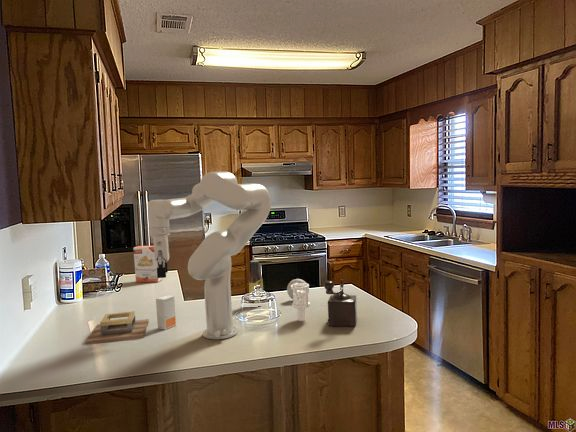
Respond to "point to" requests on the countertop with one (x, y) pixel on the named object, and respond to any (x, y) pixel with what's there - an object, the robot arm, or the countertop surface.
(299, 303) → the clear stepped glass cylinder
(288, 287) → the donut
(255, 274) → the sauce bottle
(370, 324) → the countertop surface
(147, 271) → the cracker box
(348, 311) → the manual coffee grinder
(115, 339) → the walnut board
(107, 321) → the frame
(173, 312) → the skincare box
